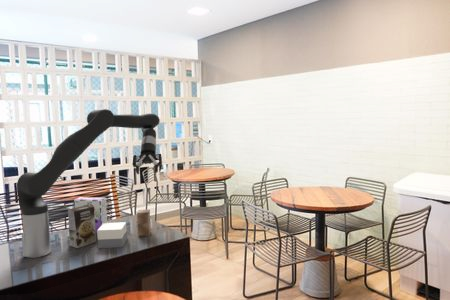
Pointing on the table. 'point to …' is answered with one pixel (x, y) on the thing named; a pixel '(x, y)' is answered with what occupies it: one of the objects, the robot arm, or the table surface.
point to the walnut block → (143, 222)
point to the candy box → (98, 206)
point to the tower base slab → (112, 242)
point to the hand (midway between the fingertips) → (146, 172)
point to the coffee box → (81, 226)
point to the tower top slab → (112, 230)
